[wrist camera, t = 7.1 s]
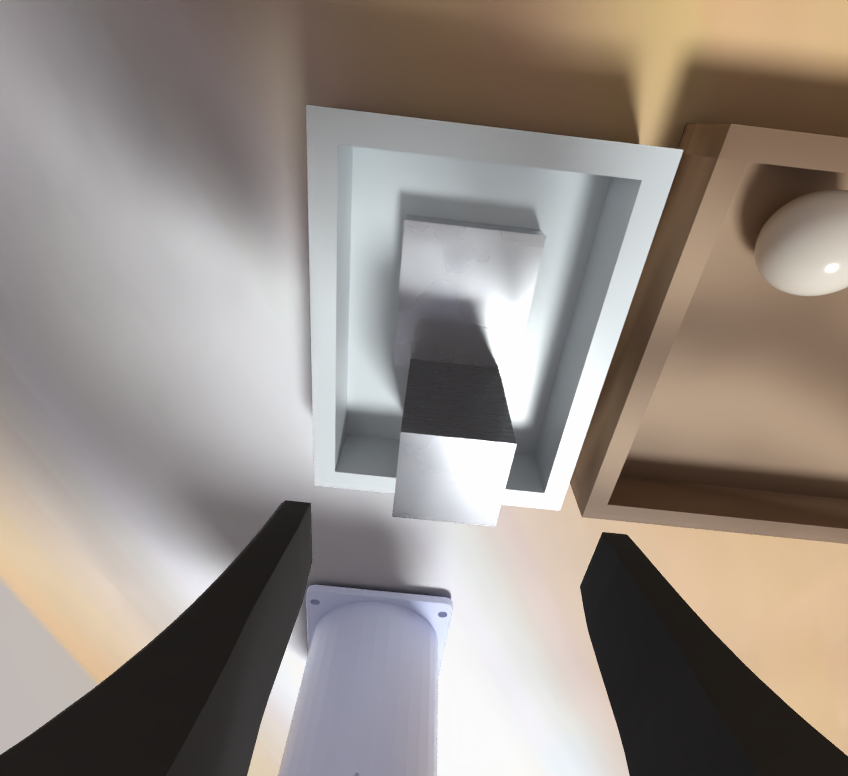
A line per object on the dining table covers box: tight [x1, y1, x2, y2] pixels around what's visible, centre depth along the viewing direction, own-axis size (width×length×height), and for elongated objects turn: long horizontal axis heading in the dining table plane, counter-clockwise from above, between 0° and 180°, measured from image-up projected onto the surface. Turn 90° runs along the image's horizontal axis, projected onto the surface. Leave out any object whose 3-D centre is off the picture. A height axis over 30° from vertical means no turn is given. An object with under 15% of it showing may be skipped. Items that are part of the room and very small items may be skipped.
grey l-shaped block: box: [393, 214, 546, 527], centre depth 15 cm, size 8×4×6 cm, turn 174°
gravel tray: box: [570, 123, 848, 544], centre depth 17 cm, size 14×15×2 cm
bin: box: [306, 105, 683, 511], centre depth 16 cm, size 13×10×3 cm
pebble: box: [755, 189, 848, 296], centre depth 14 cm, size 3×3×3 cm
